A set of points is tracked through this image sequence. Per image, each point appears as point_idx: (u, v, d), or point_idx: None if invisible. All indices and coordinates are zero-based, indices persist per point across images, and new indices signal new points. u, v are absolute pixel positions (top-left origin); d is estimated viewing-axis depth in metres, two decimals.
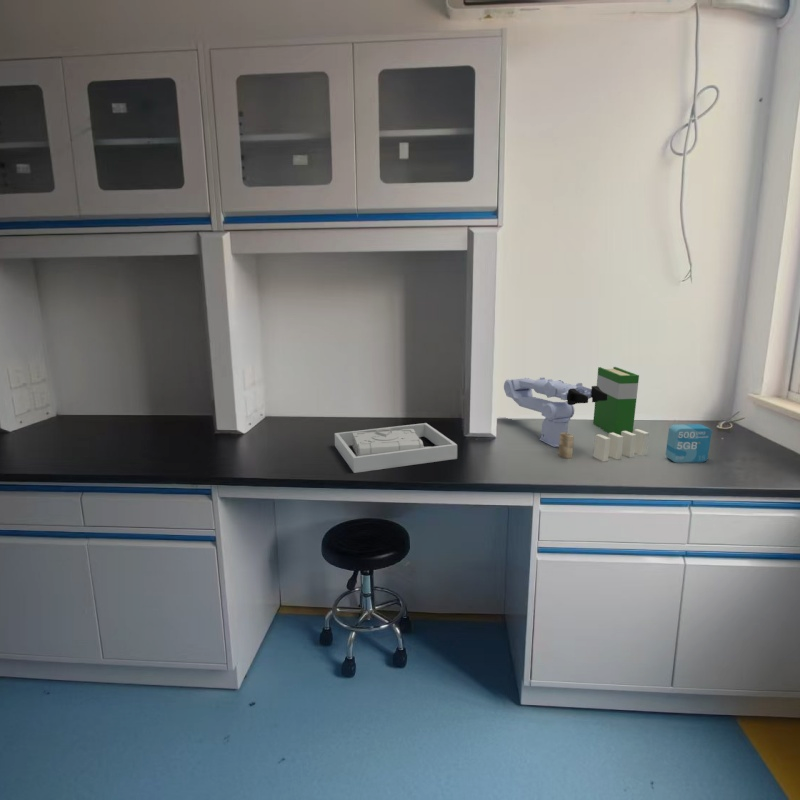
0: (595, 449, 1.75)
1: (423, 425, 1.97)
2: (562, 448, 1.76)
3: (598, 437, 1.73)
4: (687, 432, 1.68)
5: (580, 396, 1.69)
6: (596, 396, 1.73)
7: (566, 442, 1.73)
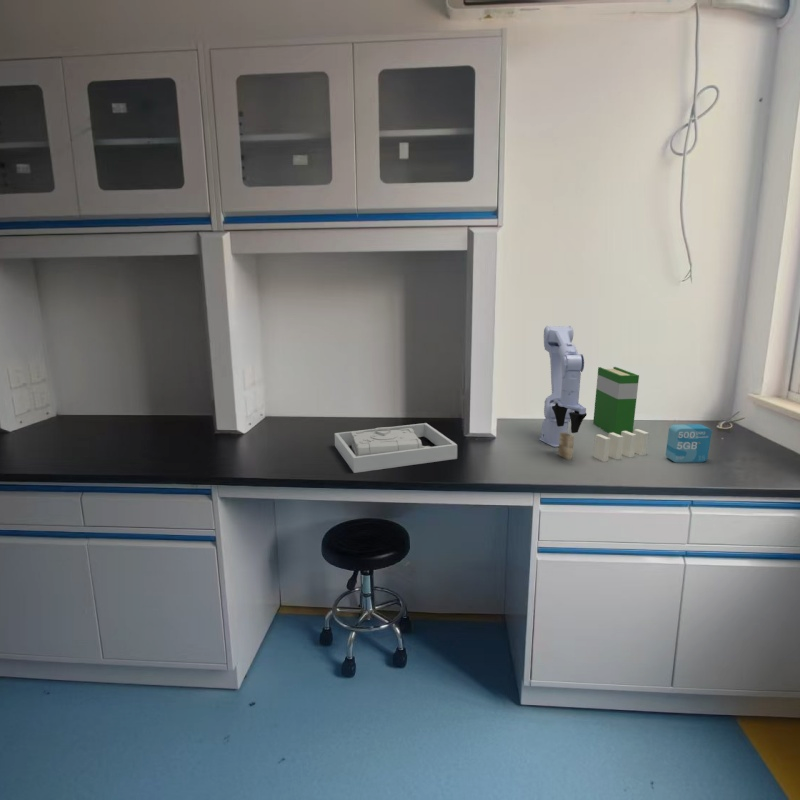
0: (595, 449, 1.75)
1: (423, 425, 1.97)
2: (562, 448, 1.76)
3: (598, 437, 1.73)
4: (687, 432, 1.68)
5: None
6: None
7: (566, 442, 1.73)
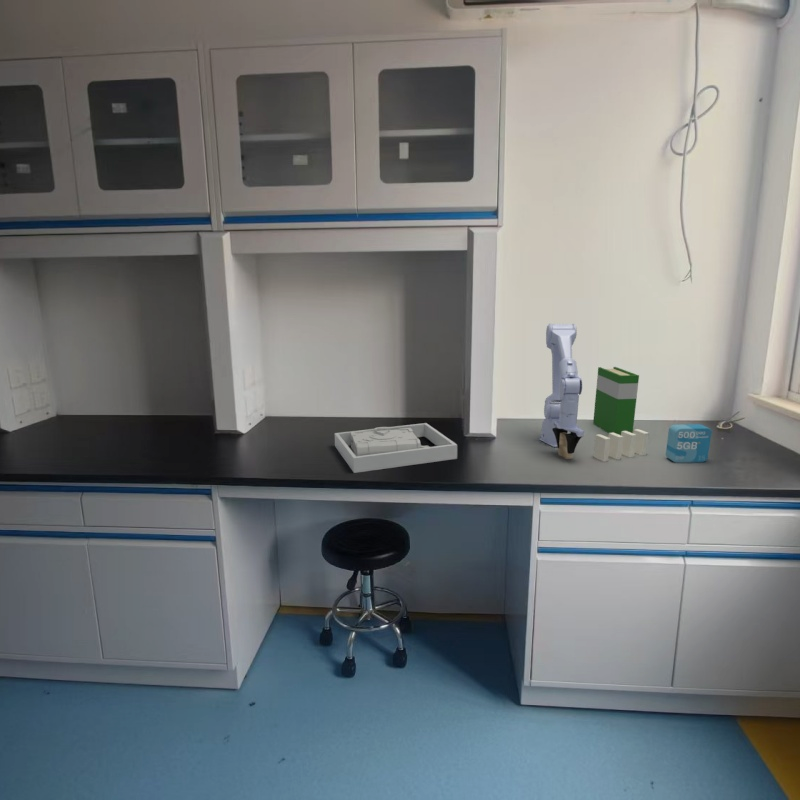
0: (595, 449, 1.75)
1: (423, 425, 1.97)
2: (562, 448, 1.76)
3: (598, 437, 1.73)
4: (687, 432, 1.68)
5: None
6: None
7: (566, 442, 1.73)
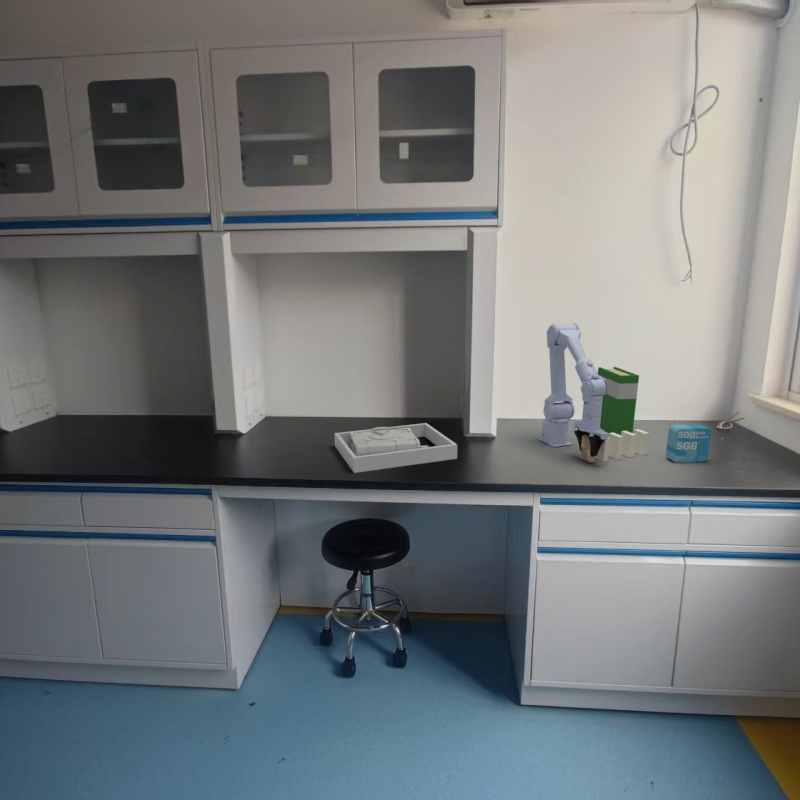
0: None
1: (423, 425, 1.97)
2: (584, 451, 1.72)
3: None
4: (687, 432, 1.68)
5: None
6: None
7: (589, 445, 1.69)
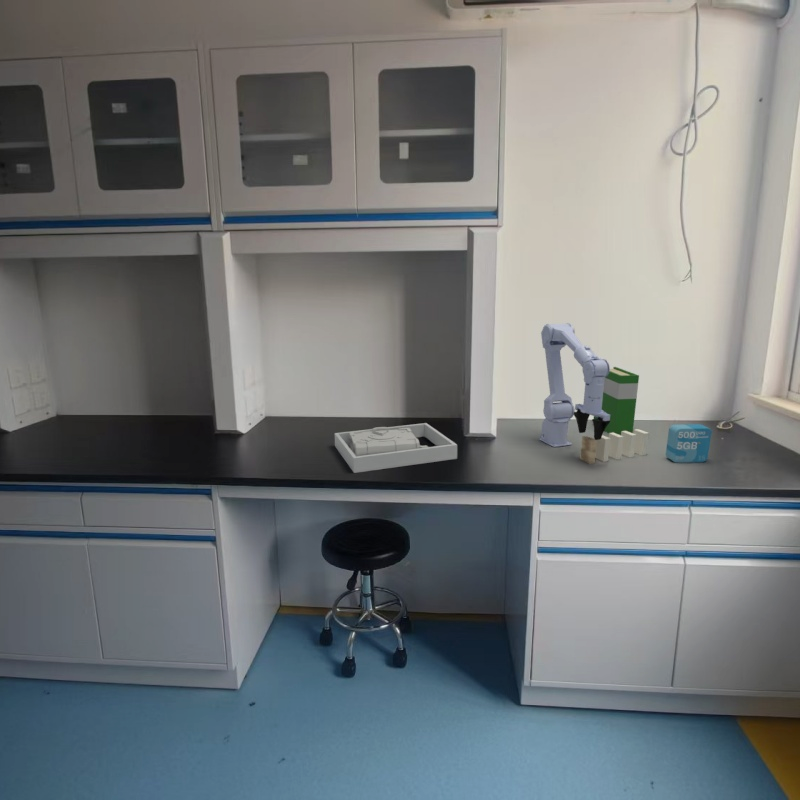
0: None
1: (423, 425, 1.97)
2: (584, 452, 1.72)
3: None
4: (687, 432, 1.68)
5: None
6: None
7: (589, 446, 1.69)
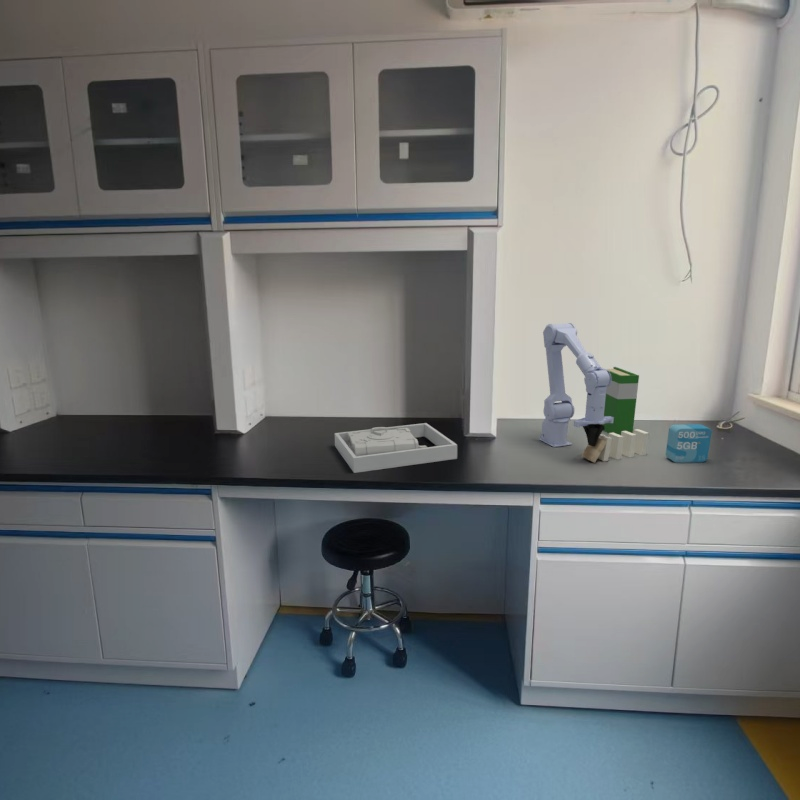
0: None
1: (423, 425, 1.97)
2: (589, 450, 1.72)
3: (600, 436, 1.73)
4: (687, 432, 1.68)
5: (591, 438, 1.70)
6: None
7: (597, 444, 1.70)
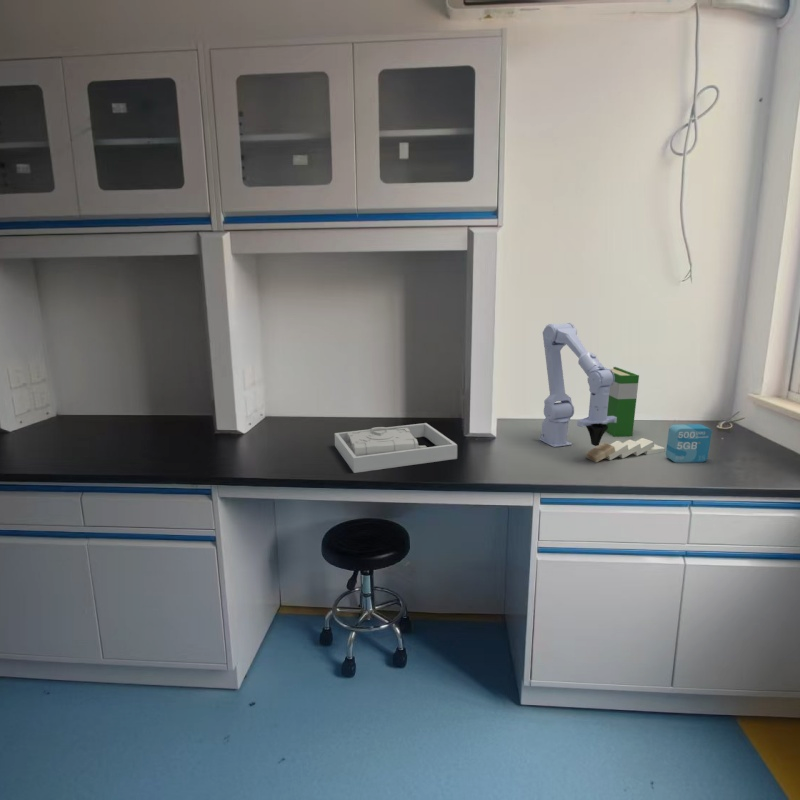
0: None
1: (423, 425, 1.97)
2: (596, 450, 1.73)
3: (619, 442, 1.77)
4: (687, 432, 1.68)
5: (595, 437, 1.70)
6: None
7: (607, 448, 1.72)
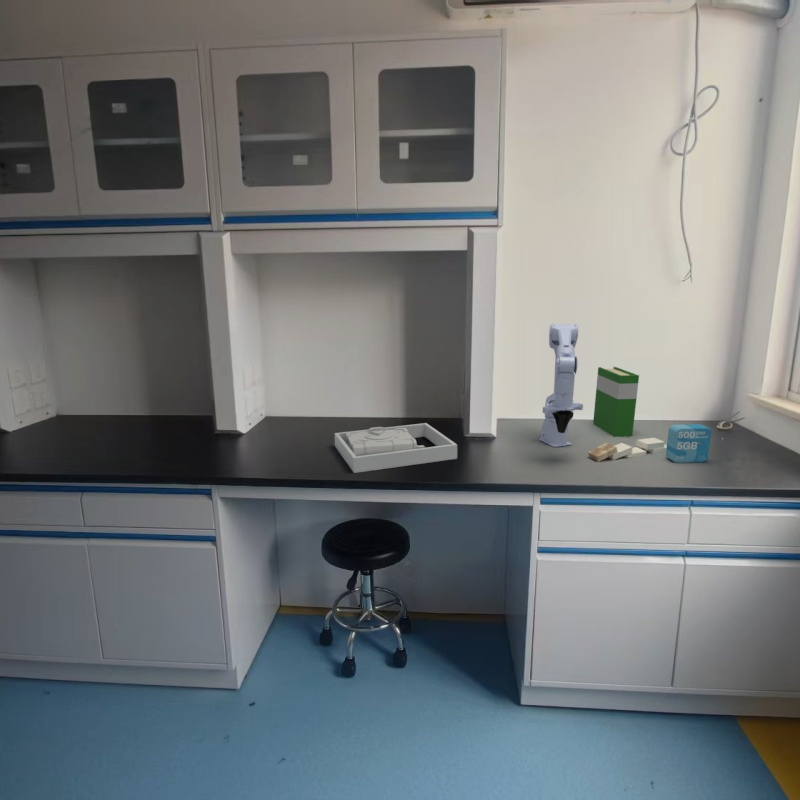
0: None
1: (423, 425, 1.97)
2: (598, 450, 1.74)
3: (623, 444, 1.78)
4: (687, 432, 1.68)
5: (560, 425, 1.69)
6: None
7: (609, 448, 1.73)
